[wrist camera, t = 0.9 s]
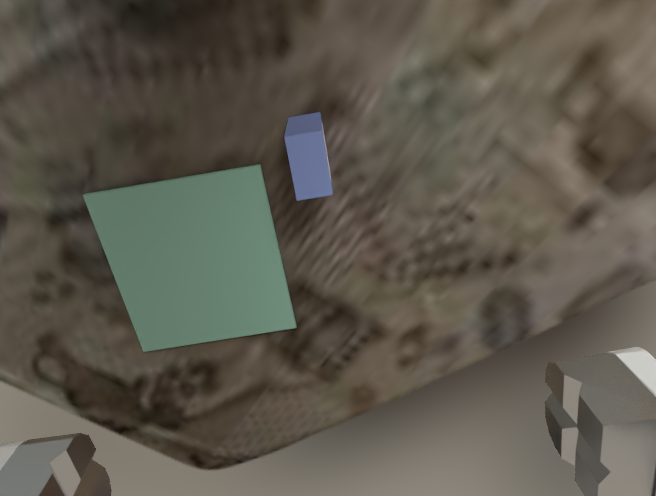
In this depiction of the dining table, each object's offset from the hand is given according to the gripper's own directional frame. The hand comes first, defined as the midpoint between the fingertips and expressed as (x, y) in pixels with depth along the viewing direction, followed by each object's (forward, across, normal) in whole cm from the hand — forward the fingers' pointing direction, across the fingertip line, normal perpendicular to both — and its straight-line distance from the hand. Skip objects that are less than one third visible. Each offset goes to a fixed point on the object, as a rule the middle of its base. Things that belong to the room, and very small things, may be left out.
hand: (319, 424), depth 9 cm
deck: (+31, 0, +1) cm, 31 cm away
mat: (+31, +11, +10) cm, 34 cm away
